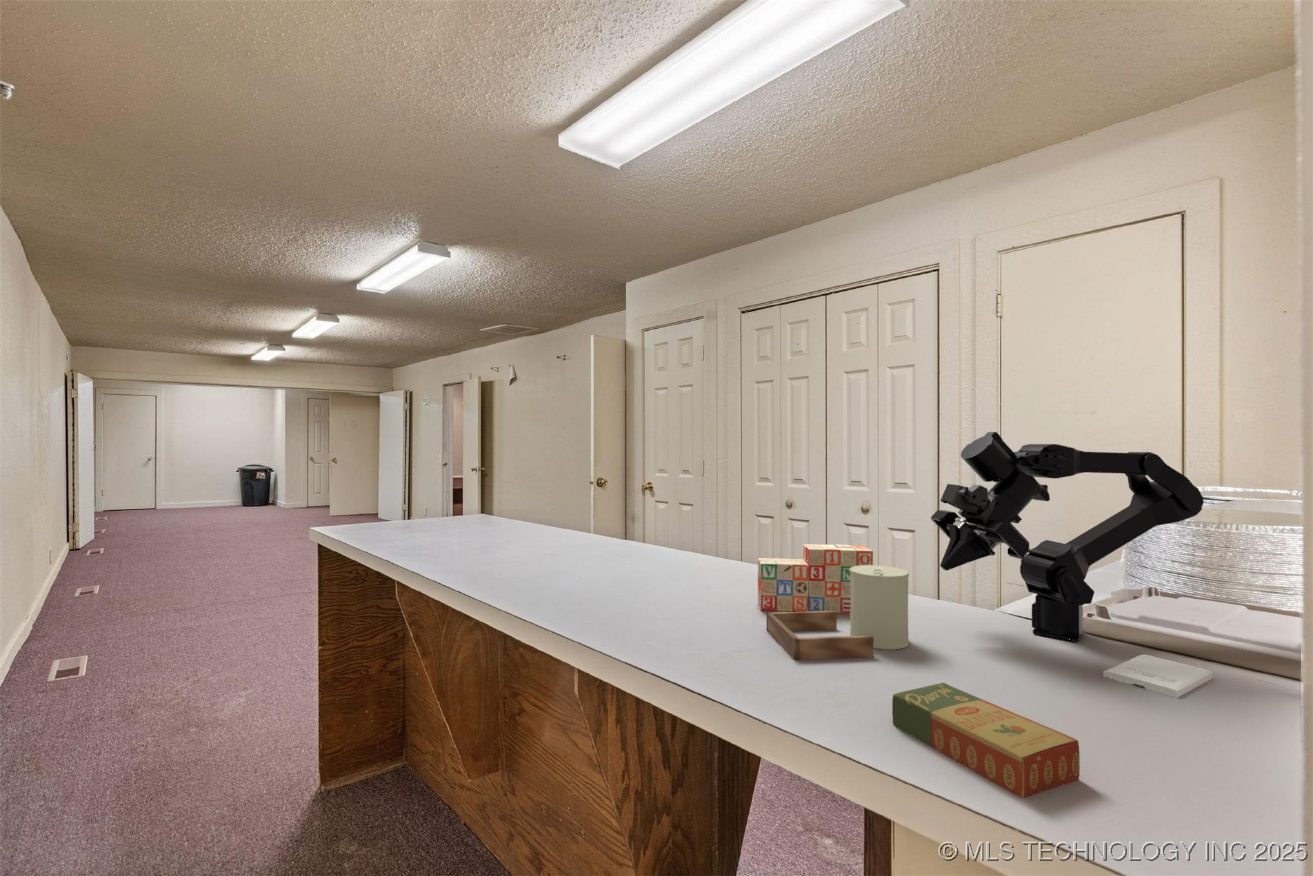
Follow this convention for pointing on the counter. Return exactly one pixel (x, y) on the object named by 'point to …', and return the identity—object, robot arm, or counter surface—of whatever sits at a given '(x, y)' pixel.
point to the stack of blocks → (811, 579)
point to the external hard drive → (1159, 675)
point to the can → (880, 605)
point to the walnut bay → (815, 646)
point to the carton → (988, 738)
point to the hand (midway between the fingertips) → (943, 568)
